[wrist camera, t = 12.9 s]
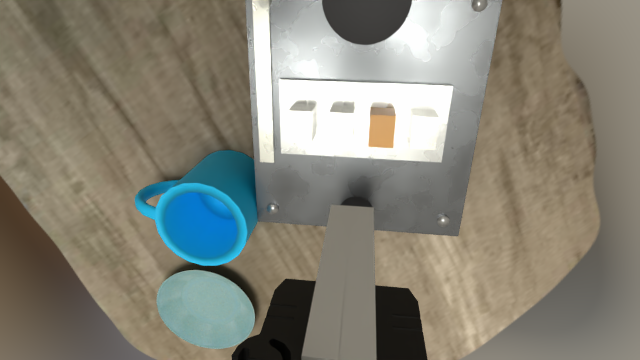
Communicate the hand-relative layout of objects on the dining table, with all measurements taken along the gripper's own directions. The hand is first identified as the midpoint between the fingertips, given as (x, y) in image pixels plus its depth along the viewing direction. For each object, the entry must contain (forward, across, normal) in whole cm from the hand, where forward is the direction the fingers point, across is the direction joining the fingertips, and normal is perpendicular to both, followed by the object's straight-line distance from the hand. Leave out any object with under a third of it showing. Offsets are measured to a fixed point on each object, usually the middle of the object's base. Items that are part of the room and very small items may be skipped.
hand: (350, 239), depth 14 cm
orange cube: (+18, +2, 0) cm, 18 cm away
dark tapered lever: (+18, 0, +8) cm, 20 cm away
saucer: (+23, -17, -25) cm, 38 cm away
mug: (+23, -15, -10) cm, 29 cm away
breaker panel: (+23, 0, 0) cm, 23 cm away
